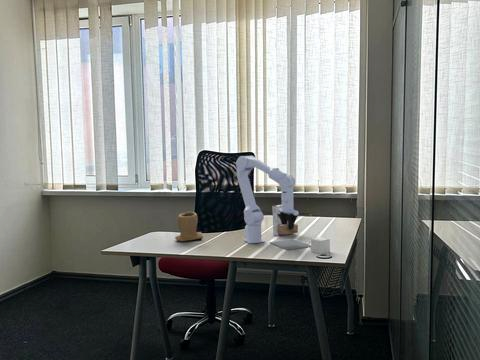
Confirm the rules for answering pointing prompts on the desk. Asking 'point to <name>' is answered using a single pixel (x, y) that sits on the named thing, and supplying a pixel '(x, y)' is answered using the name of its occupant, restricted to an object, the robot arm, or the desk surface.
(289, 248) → the rubber mat
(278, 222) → the candy bar box
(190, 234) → the stone cup
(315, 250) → the white cube
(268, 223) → the desk surface
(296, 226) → the brown box with strip
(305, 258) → the desk surface
